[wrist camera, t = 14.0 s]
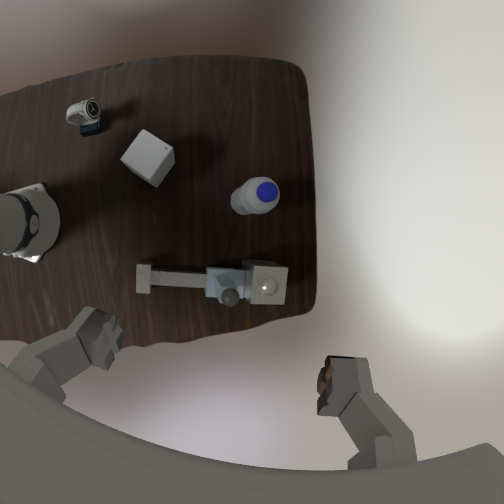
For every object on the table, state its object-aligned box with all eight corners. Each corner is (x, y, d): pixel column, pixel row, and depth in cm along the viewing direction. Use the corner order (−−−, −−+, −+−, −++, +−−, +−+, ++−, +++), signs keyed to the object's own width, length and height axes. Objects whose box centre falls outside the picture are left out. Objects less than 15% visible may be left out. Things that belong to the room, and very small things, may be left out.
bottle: (234, 182, 61) (257, 164, 42) (260, 193, 63) (294, 180, 44) (223, 210, 62) (242, 203, 42) (251, 220, 63) (281, 218, 44)
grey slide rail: (139, 287, 58) (130, 300, 47) (140, 251, 58) (131, 257, 47) (267, 293, 66) (284, 307, 55) (270, 260, 65) (288, 268, 54)
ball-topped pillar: (204, 292, 61) (213, 316, 45) (206, 265, 61) (215, 281, 45) (239, 293, 63) (259, 317, 47) (241, 268, 63) (262, 283, 47)
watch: (107, 132, 53) (95, 115, 42) (77, 138, 51) (60, 123, 40) (108, 111, 52) (97, 91, 42) (78, 117, 50) (63, 100, 40)
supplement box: (150, 145, 56) (143, 126, 44) (176, 162, 58) (174, 147, 46) (131, 171, 56) (118, 159, 43) (156, 189, 57) (150, 180, 45)
